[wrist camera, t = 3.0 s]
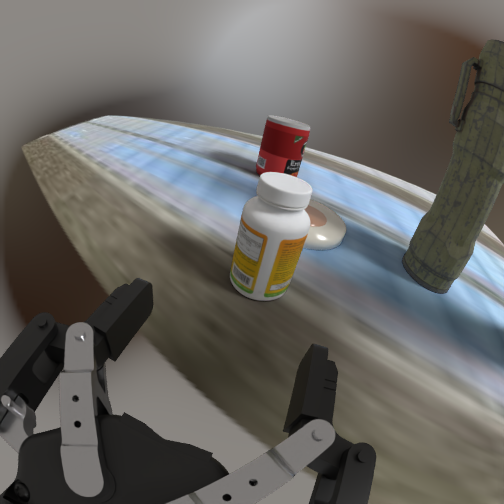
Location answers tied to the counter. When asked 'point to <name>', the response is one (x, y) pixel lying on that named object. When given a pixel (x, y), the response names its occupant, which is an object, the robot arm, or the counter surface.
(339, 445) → the robot arm
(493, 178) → the thermos
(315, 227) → the coaster
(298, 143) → the canned food
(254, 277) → the supplement bottle
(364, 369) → the counter surface
